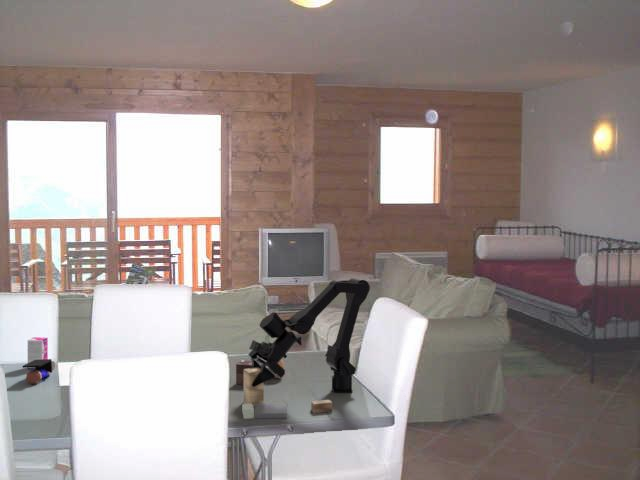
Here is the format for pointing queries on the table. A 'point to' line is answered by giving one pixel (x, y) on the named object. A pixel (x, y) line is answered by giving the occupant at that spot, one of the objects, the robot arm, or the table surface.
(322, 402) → the walnut brick
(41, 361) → the figurine character
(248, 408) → the sage brick
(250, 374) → the oak block
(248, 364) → the box
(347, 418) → the table surface
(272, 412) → the slate tile
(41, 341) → the supplement box
